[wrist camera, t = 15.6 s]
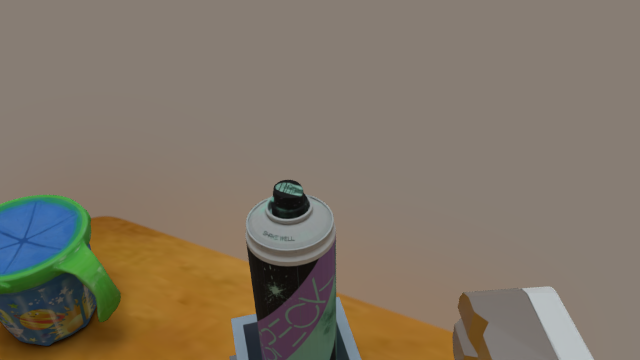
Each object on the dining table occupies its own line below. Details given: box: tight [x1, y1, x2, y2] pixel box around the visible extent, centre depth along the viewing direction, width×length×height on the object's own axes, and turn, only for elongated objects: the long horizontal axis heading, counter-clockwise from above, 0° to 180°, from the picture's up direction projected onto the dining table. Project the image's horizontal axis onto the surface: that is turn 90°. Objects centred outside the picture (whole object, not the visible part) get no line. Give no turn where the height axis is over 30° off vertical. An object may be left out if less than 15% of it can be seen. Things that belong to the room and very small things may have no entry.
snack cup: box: [0, 195, 121, 346], centre depth 48 cm, size 16×10×10 cm
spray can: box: [246, 180, 337, 360], centre depth 37 cm, size 6×6×20 cm
